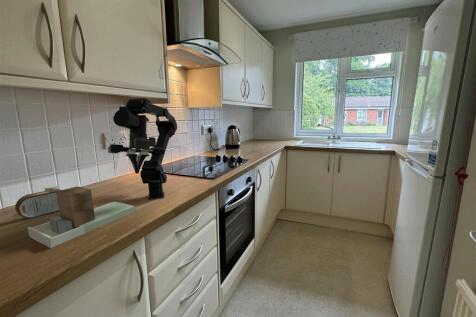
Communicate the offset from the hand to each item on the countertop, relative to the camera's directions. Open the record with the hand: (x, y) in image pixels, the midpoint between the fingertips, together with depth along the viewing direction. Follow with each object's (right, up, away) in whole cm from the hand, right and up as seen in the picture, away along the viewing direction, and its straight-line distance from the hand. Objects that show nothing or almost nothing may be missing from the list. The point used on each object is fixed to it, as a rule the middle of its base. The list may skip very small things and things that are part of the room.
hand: (136, 173), depth 87 cm
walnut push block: (-13, -14, -12) cm, 23 cm away
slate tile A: (-13, -15, -17) cm, 26 cm away
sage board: (-10, -15, -6) cm, 19 cm away
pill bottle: (-35, -14, +6) cm, 38 cm away
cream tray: (-16, -17, -17) cm, 29 cm away
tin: (-33, -15, -1) cm, 36 cm away
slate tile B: (-17, -14, -14) cm, 27 cm away
